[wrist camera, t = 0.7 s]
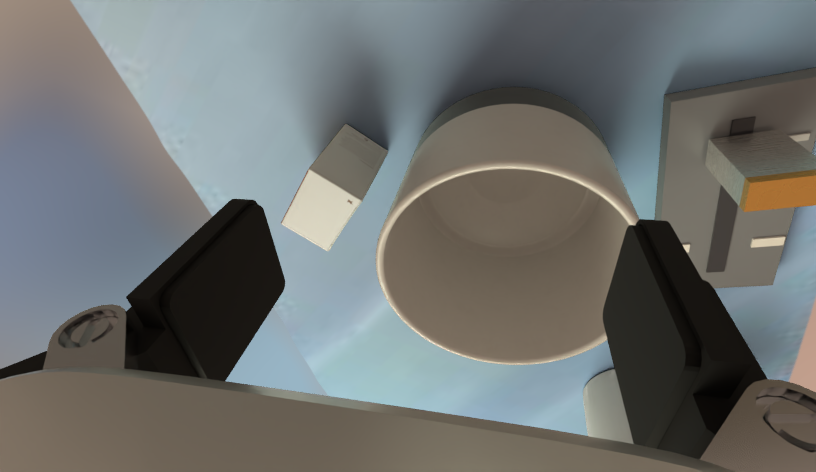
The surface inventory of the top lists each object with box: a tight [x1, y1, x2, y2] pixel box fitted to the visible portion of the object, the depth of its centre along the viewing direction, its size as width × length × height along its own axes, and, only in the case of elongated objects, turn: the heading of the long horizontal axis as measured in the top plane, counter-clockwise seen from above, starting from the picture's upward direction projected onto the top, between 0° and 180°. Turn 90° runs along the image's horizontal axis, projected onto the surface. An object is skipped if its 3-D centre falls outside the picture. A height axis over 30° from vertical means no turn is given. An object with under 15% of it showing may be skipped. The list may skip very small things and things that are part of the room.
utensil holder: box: [583, 369, 634, 444], centre depth 54 cm, size 15×15×18 cm
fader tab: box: [705, 129, 816, 212], centre depth 32 cm, size 2×5×8 cm, turn 106°
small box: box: [281, 124, 388, 251], centre depth 43 cm, size 8×6×10 cm
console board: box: [655, 68, 816, 288], centre depth 40 cm, size 22×11×2 cm, turn 16°
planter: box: [376, 87, 640, 365], centre depth 37 cm, size 19×19×18 cm
